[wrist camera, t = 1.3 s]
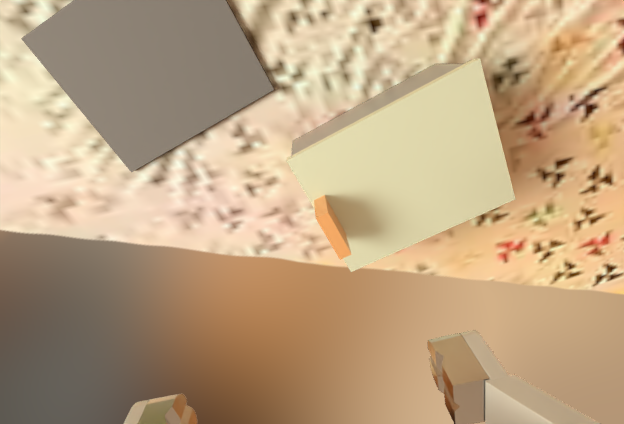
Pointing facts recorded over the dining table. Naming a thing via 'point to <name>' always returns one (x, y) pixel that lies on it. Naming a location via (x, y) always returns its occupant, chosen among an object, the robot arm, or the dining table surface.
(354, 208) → the lid
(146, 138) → the mat
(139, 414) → the robot arm
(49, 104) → the dining table surface
